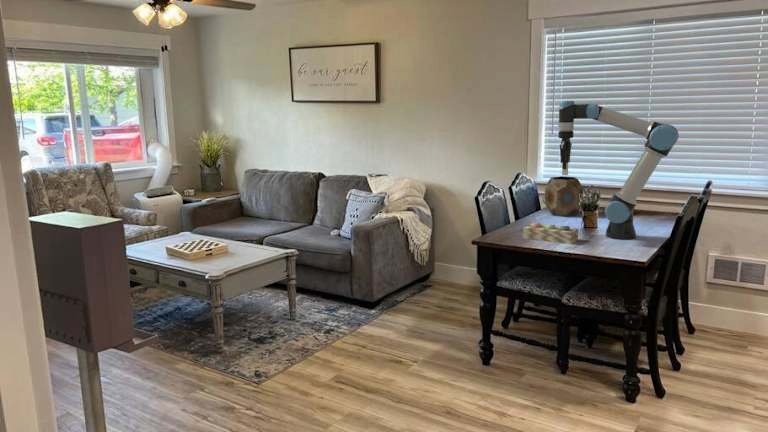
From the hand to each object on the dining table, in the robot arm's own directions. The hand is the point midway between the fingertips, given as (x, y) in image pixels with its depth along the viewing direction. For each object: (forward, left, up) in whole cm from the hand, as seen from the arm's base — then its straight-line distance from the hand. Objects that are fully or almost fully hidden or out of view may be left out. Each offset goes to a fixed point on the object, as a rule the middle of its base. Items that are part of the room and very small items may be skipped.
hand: (564, 175), depth 307 cm
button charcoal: (-4, +8, -31) cm, 32 cm away
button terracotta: (+12, +8, -31) cm, 34 cm away
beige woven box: (+4, +8, -34) cm, 35 cm away
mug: (+40, -88, -34) cm, 103 cm away
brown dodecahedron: (+23, -65, -34) cm, 77 cm away
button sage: (+4, +8, -31) cm, 32 cm away
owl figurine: (-11, -86, -34) cm, 94 cm away
